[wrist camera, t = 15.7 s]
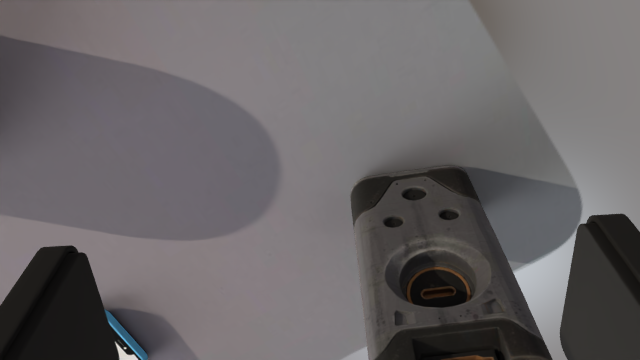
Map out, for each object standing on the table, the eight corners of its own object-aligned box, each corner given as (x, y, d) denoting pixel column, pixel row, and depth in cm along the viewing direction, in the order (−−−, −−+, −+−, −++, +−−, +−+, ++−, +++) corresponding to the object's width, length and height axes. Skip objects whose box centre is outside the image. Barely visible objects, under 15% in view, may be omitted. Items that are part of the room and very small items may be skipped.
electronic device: (467, 159, 46) (562, 358, 29) (469, 223, 49) (556, 437, 32) (347, 176, 47) (369, 381, 29) (356, 238, 50) (381, 456, 32)
